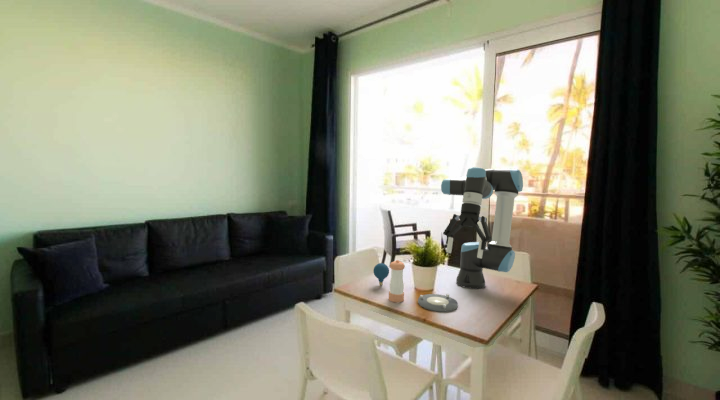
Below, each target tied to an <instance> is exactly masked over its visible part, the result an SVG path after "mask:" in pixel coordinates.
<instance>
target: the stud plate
mask: <svg viewBox="0 0 720 400" xmlns="http://www.w3.org/2000/svg"><path fill="white" fill-rule="evenodd" d="M417 304H418V305H419V306H420V307H422V309H423V308H424V309H425V310H428V311H432V312H439V313H449V312H453V311H456V310H457V308H458V307H459V305H458V304H459V303H458V301H457V300H456V299H454V298H453V297H450V294H449V293H446V294H445V295H444V294H439V293H428V294H420V295H419V297H418V299H417Z"/></svg>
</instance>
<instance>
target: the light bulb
mask: <svg viewBox="0 0 720 400" xmlns="http://www.w3.org/2000/svg"><path fill="white" fill-rule="evenodd" d="M373 274H374V276H375V277H376V278H377V279H378V283H379V284H378V285H379V286H383V285H384V284H383V282H384V280H385V279H386V278H387V277H388V276H389V275H390V269H389V266H388V265H387V264H385V263H383V262H380V263H377V264H376V265H375V266H374V267H373Z"/></svg>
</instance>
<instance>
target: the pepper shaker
mask: <svg viewBox="0 0 720 400" xmlns="http://www.w3.org/2000/svg"><path fill="white" fill-rule="evenodd" d="M389 267H390V269H391V272H390V273H391V276H390V280H389V281H390V282H389V291H388V300H389V301H390V302H392V303H402V302H404V300H405V292H404V284H405V283H404V278H403V277H404V269H405V268H406V267H405V263H404V262H402V261H399V259H396V260H394V261H391V262H390V263H389Z"/></svg>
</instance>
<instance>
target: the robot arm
mask: <svg viewBox="0 0 720 400" xmlns="http://www.w3.org/2000/svg"><path fill="white" fill-rule="evenodd" d="M523 187H524V180H523V174H522V172H521V170H520V169H516V168H486V169H485V168H482V167H477V166H474V167H469V168H468V169H467V171H466V175H465V176H462V177H457V178H456V177H455V178H444V179H443V180H442V181H441V185H440V190H441V192H442V194H443V195H448V196H463V197H462V204H461V207H460V215H458V214H456V213H454V214H453V215H452V219H451V220H450V222H449V223H448V224H447V226H446V228H445V229H444V231H443V235H444V236H446V242H445V244H446V251H445V253H448V254H452V250H453V242H454V236H455V235H456V233H458V232H459V231H460V230H461V229H462V228H464V227H466V228H468V227H469V228H474V230H475V232H476V234H477V235H478V236H479V239H480V240H479V241H472V242H471V241H470V242H464V243H463V244H462V245H461V250H460V266H459V267H460V268H459V271H458V274H457V277H456V281H455V283H456V284H457V285H458V286H460V287H462V288H467V289H472V290H473V289H475V290H476V289H477V290H479V289H483V288H485V287H486V280H485V276H484V273H483V269H486V270H492V271H496V272H502V273H509V272H510V271H511V270H512V267H513V266H514V262H515V258H516V252H515V251H514V250H513V246H512V245H511V244H510V240H511V233H512V232H511V231H512V230H511V229H512V222H513V213H514V206H515V198H516V197H518V196H519V193H520V192H521V193H522V191H523ZM493 194H494V195H496V202H495V208H494V209H495V210H494V211H495V212H494V216H493V217H494V220H493V227H492V234H491V232H490V228H489V226H488V219H487V217H486V216H480V214H481V209H482V207H481V205H482V202H483V200H485V199H486V200H487V199H489V198H491V196H493ZM479 222H480V223H481V227H482V229H481V227H480V226H479ZM487 242H488V244H487Z"/></svg>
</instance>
